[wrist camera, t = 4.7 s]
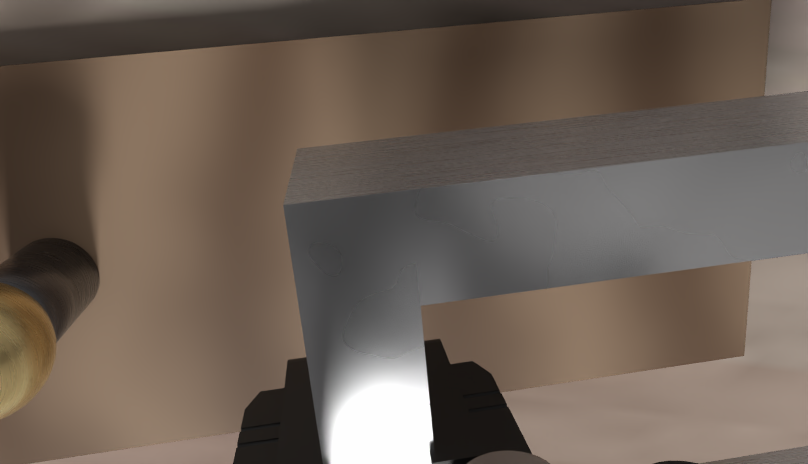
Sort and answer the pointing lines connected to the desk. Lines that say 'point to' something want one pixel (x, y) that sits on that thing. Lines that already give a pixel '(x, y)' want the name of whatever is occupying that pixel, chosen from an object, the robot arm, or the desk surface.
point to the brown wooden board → (265, 220)
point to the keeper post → (39, 313)
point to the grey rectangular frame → (519, 237)
